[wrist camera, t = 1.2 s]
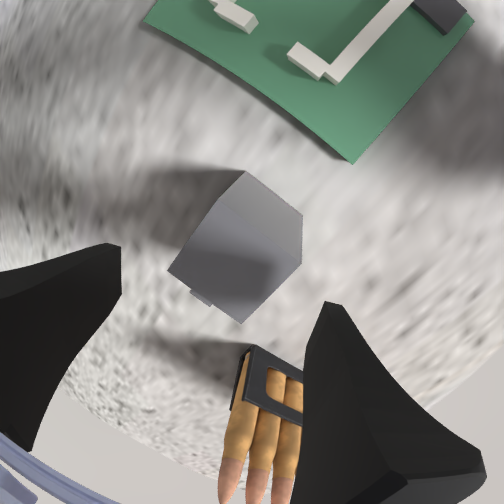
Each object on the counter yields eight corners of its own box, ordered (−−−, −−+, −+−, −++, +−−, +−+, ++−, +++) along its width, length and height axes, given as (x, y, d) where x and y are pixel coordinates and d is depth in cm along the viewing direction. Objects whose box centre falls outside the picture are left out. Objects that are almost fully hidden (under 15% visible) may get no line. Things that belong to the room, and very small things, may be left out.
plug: (302, 215, 17) (301, 263, 12) (249, 274, 19) (228, 336, 14) (245, 170, 17) (217, 199, 11) (197, 235, 19) (157, 285, 14)
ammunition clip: (240, 356, 23) (197, 501, 12) (253, 342, 22) (214, 497, 11) (342, 410, 24) (342, 535, 13) (357, 400, 23) (363, 529, 12)
